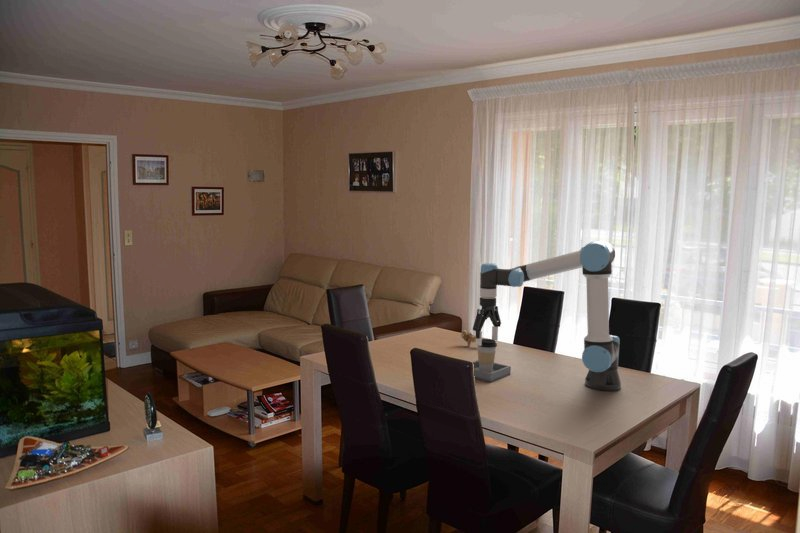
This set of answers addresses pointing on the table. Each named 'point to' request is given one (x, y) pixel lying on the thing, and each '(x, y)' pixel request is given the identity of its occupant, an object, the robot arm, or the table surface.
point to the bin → (497, 372)
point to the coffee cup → (486, 355)
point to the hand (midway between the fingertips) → (486, 342)
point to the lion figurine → (468, 337)
